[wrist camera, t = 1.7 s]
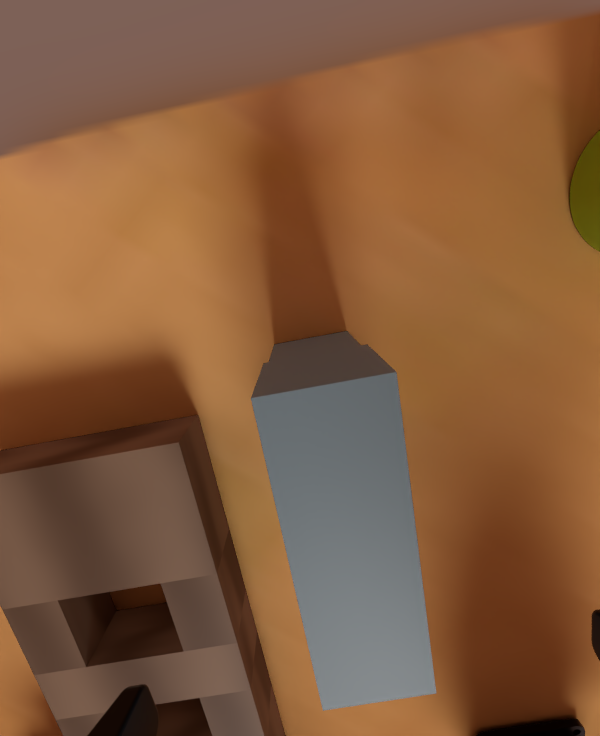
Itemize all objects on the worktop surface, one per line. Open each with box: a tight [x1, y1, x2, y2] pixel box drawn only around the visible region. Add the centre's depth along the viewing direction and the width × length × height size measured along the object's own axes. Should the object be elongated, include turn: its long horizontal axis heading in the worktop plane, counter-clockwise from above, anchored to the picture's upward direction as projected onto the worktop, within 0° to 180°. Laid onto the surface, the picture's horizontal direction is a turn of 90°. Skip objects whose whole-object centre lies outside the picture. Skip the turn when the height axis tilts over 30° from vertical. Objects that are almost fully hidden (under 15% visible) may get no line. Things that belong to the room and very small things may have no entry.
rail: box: [0, 415, 285, 736], centre depth 19 cm, size 10×24×3 cm, turn 11°
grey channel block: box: [251, 331, 436, 710], centre depth 14 cm, size 3×10×8 cm, turn 10°
